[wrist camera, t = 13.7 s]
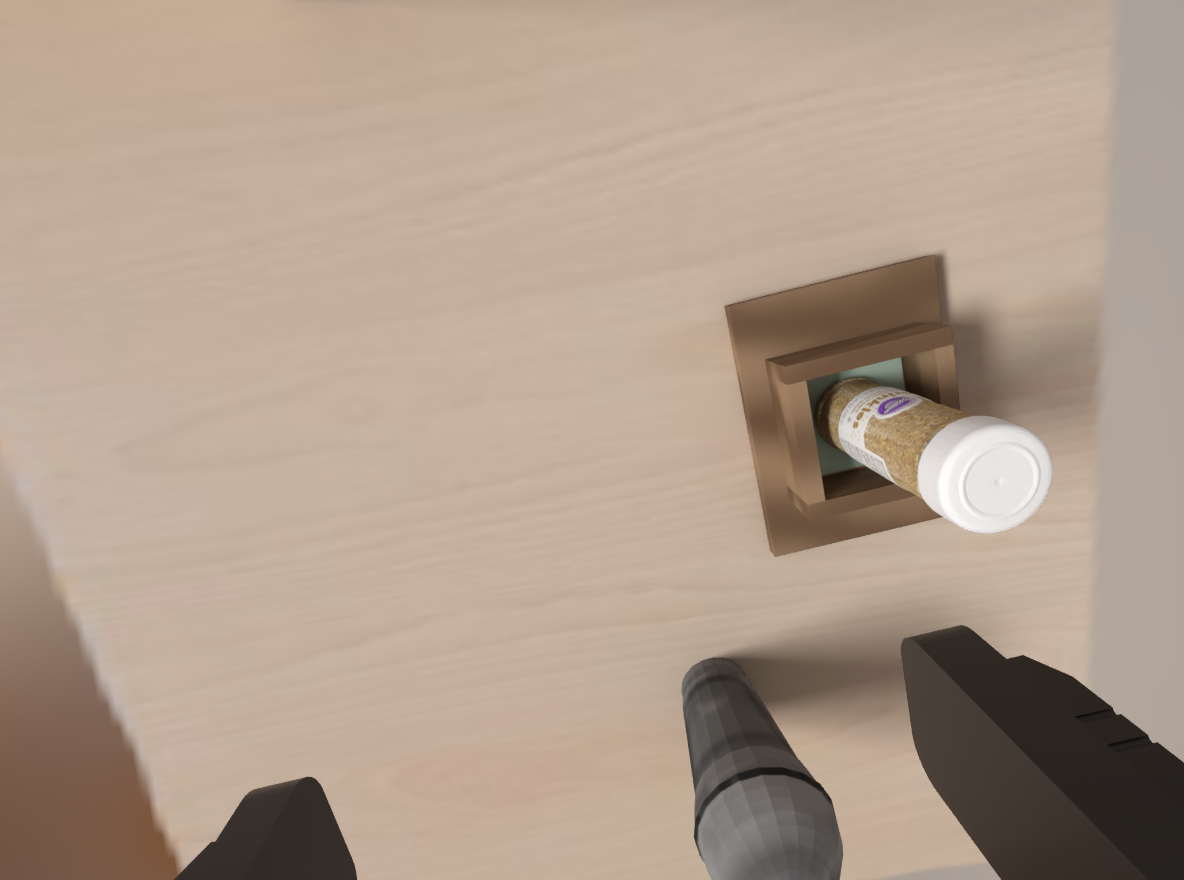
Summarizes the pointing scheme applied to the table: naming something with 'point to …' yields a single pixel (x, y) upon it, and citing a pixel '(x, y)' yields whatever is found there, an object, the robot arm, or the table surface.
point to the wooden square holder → (810, 367)
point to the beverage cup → (752, 786)
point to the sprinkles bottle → (940, 453)
